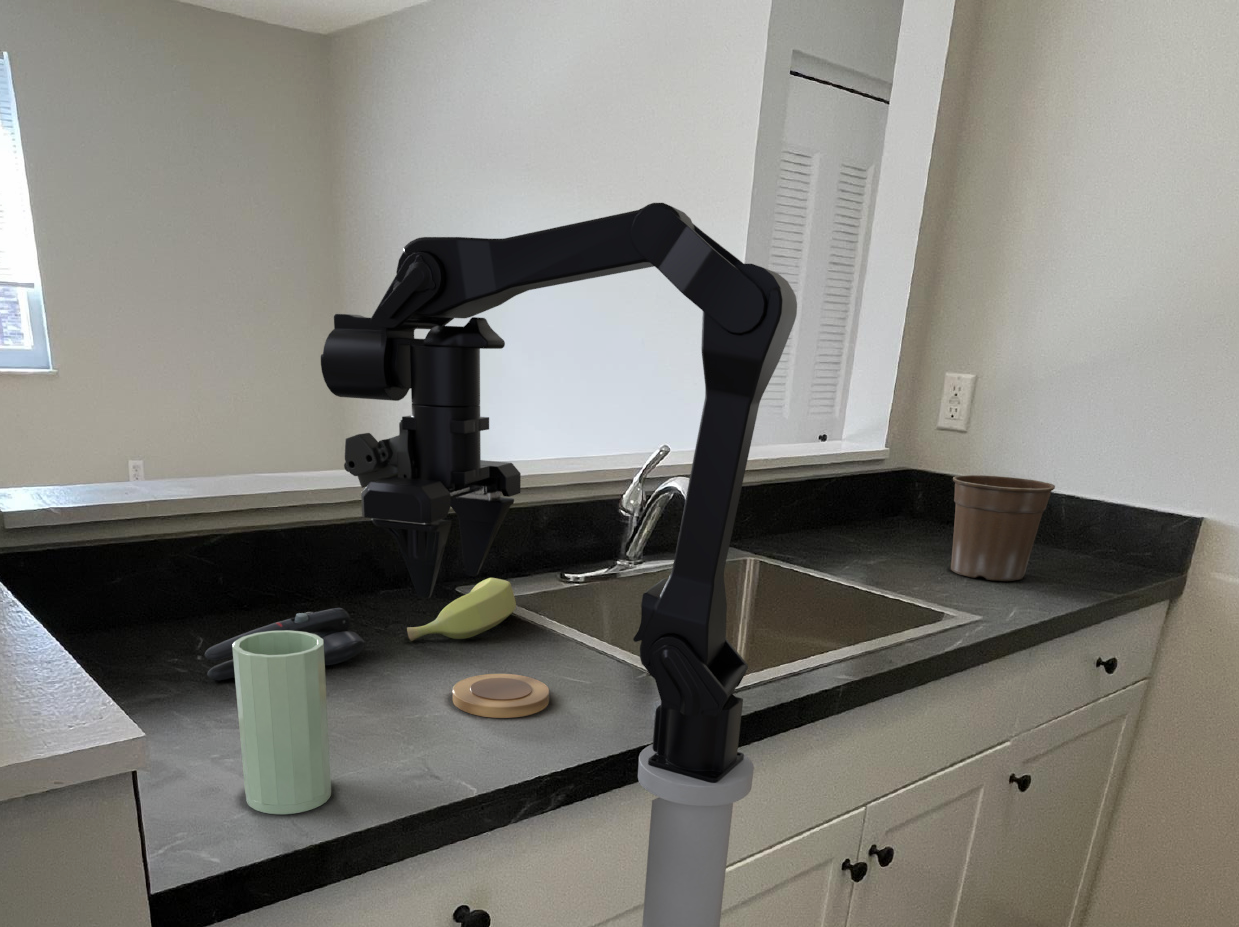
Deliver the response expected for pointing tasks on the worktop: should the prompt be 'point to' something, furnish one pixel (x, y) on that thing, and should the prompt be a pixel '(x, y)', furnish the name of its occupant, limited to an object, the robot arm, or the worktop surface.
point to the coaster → (500, 695)
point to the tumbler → (283, 720)
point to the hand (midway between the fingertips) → (449, 585)
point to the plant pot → (996, 525)
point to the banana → (472, 612)
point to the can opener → (323, 624)
